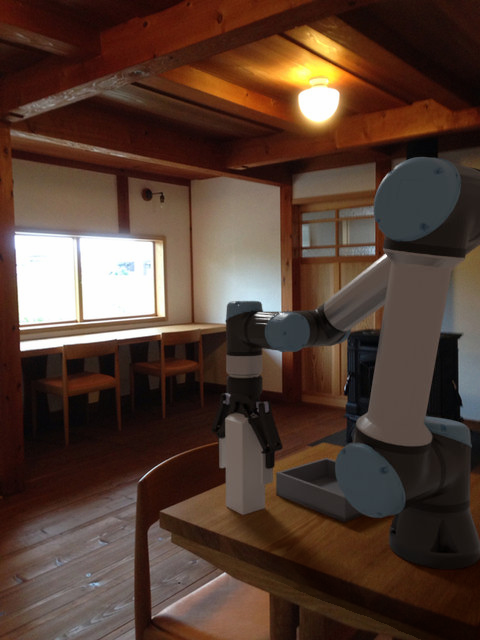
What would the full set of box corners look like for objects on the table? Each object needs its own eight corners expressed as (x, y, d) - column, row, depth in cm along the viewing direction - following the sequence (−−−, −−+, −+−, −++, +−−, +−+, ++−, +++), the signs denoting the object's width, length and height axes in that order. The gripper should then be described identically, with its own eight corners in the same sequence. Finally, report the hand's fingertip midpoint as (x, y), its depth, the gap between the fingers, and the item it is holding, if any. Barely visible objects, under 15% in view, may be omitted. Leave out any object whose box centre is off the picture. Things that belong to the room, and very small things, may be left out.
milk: (242, 515, 112) (241, 408, 111) (225, 506, 117) (224, 403, 116) (265, 508, 116) (264, 404, 114) (248, 499, 121) (247, 399, 119)
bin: (394, 501, 119) (395, 478, 119) (344, 522, 108) (344, 497, 108) (326, 478, 134) (326, 457, 134) (276, 494, 123) (276, 472, 123)
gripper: (300, 380, 108) (300, 486, 109) (222, 366, 127) (222, 457, 128) (272, 384, 103) (272, 495, 104) (195, 369, 122) (196, 464, 123)
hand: (245, 474), depth 116 cm, fingers open, 13 cm apart
